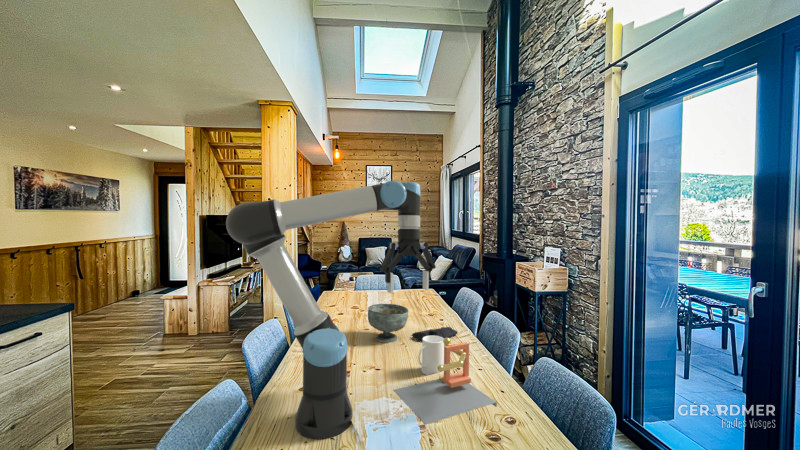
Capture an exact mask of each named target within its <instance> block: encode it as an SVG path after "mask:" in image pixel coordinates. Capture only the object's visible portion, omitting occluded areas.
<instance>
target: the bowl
mask: <svg viewBox="0 0 800 450" xmlns="http://www.w3.org/2000/svg"><path fill="white" fill-rule="evenodd" d="M408 319H409V309H408V308H407V307H405V306H403V305H400V304H396V303H395V304H394V303H375V304H372V305H370V306H368V308H367V322H368V323H369V325H370V326H371V327H372V328H374V329H375V330H377V331H380V332H382V333H379V334H377V335H376V337H375V340H376V341H377V342H379V343H387V344H388V343H391V342H392V343H393V342H396V341H397V339H398V336H397V335H396V334H395V333H394V332H398V331H400V330H402V329H403V328H404V327H406V325H407V322H408Z"/></svg>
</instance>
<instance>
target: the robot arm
mask: <svg viewBox="0 0 800 450" xmlns="http://www.w3.org/2000/svg"><path fill="white" fill-rule="evenodd" d="M421 195H422V194H421V185H420V184H419V183H418V182H413V181H403V182H400V181H398V180H389V181H388V180H387V181H386V182H384V183H377V184H372V185H367V186H362V187H355V188H350V189H344V190H340V191H335V192H328V193H324V194H318V195H313V196H307V197H300V198H295V199H291V200H285V201H279V200H277V199H269V200H263V201H262V200H261V201H248V202H247V201H246V202H242V203H240V204H237V205H235V206H234V207H233V208H232V209H231V210H230V211H229V213H228V214H227V216H226V221H225V225H226V227H225V228H226V230H227V233H228V235H229V236H230V237H231V238H232V239H233V240H234V241H236V242H238V243H239V244H242V246H243V248H244V250H245V252H246V253H247V255H248V256H249V257H252V258H255V259H257V261H258V263H259V265H260V266H261V268H262V270H263V272H264V273H265V275H266V276H267V279H268V281H269V282H270V284H271V286H272V287H273V289H274V291H275V292H276V294H277V296H278V297H279V300H280V301H281V303H282V305H283V306H284V308H285V309H286V311H287V314H288V315H289V317H290V319H291V320H292V323H294V326H295V328H294V332H293V335H294V336H295V338H296V339H297V341H298V343H299V346H300V347H301V349H302V355H303V356H302V396H301V399H300V403H299V404H298V409H297V412H296V415H295V429H296V431H297V432H298V434H300V435H302V436H304V438H305V437H306V438H308V439H309V438H310V439H327V438H331V437H334V436H337V435H340V434H342V433H343V432H345V431H346V430H348V428H350V426H351V424H352V422H353V421H352V420H353V419H352V418H353V408H352V404H351V401H350V398H349V397H350V396H349V394H348V392H347V379H348V377H347V373H348V372H347V365H348V364H347V362H348V359H347V357H348V346H349V345H348V342H347V337H346V335H345V334H344V333H343V331H341V330H340V329H339V328H338V326H337V324H335V323H334V321H333V320H332V318H331V316H330V314H329V312H328V311H325V310H321V309H320V307H319V304H318V303H317V301H316V299H315V298H314V296H313V294H312V292H311V290H310V288H309V287H308V284H306V282H305V279H304V277H303V276H302V274H301V273H300V270H299V269H298V267H297V266H296V264H295V262H294V259H293V258H292V256H291V255H290V252H289V250H288V249H287V247H286V246H285V241H286V238H287V237H286V235H285V233H286V231H288V230H292V229H298V228H303V227H306V226H311V225H317V224H321V223H325V222H326V223H327V222H331V221H336V220H341V219H345V218H349V217H350V218H351V217H354V216H359V215H364V214H369V213H372V212H377V211H397V219H398V220H397V227H398V230H397V240H398V241H397V243H395V242H389V244H388V250H387V252H386V253H385V256H384V257H383V260H382V261H381V265H380V267H379V271H381V272H384V273H385V276H384V279H385V280H384V281H385V283H386V284H387V293H389V294H393V293H394V273H393V272H392V271H393V270H394V269H395V267H396V266H397V264H399V262H400V261H401V259H402V258H403V257H410V256H411V257H415V258H416V259H417V261H418V262H419V264H420V265H421V266H422V267H423V268H424V269H423V270H422V289H423V290H424V291H429V287H430V285H429V283H430V282H429V281H430V280H431V273H432V271H433V269H436V268H437V266H436V264H435V261H434V259H433V257H432V254H431V253H430V252H431V251H430V250H429V244H428V242H425V241H421V242H420V239H421V230H420V229H419V228H421V198H422V197H421ZM397 249H398V251H397V252H396V254H395V256H394V253H395V251H396V250H397ZM420 249H421V251H422V253H421V251H420ZM393 256H394V257H393ZM423 256H424V257H423ZM392 258H393V259H392Z"/></svg>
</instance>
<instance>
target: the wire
mask: <svg viewBox="0 0 800 450" xmlns="http://www.w3.org/2000/svg"><path fill="white" fill-rule="evenodd" d="M451 341H452V340H451V339H450V338H444V340H443V343H444V346H450V345H451V343H452V342H451ZM451 352H452V353H453V354H455V355H457V356H459V358H458V359H459V360H458V361H454V362H450V363H449V364H444V365H439V366H438V371H440V373H443V372H442V371H446V370H450V371H451V370H454V369H458V368H463V363H464V360H465V357H466V353H465V352H463V350H462V349H461V350H456V351H451ZM438 377H439V378H438V379H440V380H441V381H442V377H444V374H443V375H439V376H438ZM442 382H443V381H442ZM445 384H446V383H445Z"/></svg>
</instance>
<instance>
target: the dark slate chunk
mask: <svg viewBox="0 0 800 450" xmlns="http://www.w3.org/2000/svg"><path fill="white" fill-rule="evenodd" d="M458 333H459V332H458V331H457V330H456V329H454V328H453V327H450V326H445V327H444V326H443V327H440V328H435V329H427V330H423V331H422V330H421V331H416V332H413V333H412V334H411V336H413V337H414V339H415V340H416V341H418V340H419V342H420V341H421V342H420V343H422V339H423V337H425V336H430V335H434V336H440V337H442V338H449V339H450V338H453V337H455V336H456V335H458ZM452 336H453V337H452ZM413 337H412V338H413Z"/></svg>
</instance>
